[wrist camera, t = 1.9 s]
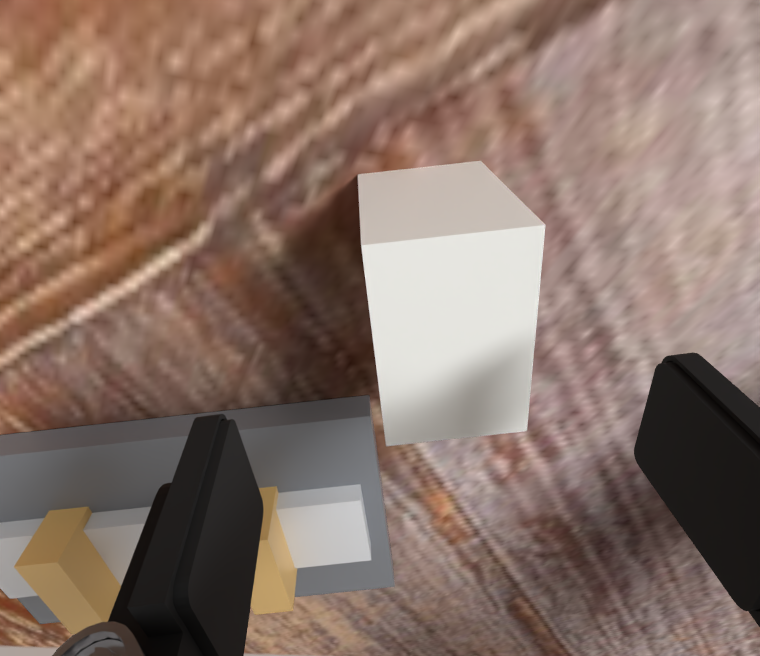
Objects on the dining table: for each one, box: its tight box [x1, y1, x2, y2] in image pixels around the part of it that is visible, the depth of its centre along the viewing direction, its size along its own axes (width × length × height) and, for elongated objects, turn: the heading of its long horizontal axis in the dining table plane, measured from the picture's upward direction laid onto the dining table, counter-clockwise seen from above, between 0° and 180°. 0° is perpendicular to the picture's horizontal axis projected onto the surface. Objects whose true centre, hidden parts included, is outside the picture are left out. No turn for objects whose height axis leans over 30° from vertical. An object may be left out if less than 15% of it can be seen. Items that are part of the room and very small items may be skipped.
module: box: [358, 161, 545, 446], centre depth 17 cm, size 5×7×7 cm, turn 6°
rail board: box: [0, 395, 395, 634], centre depth 25 cm, size 22×14×4 cm, turn 95°
